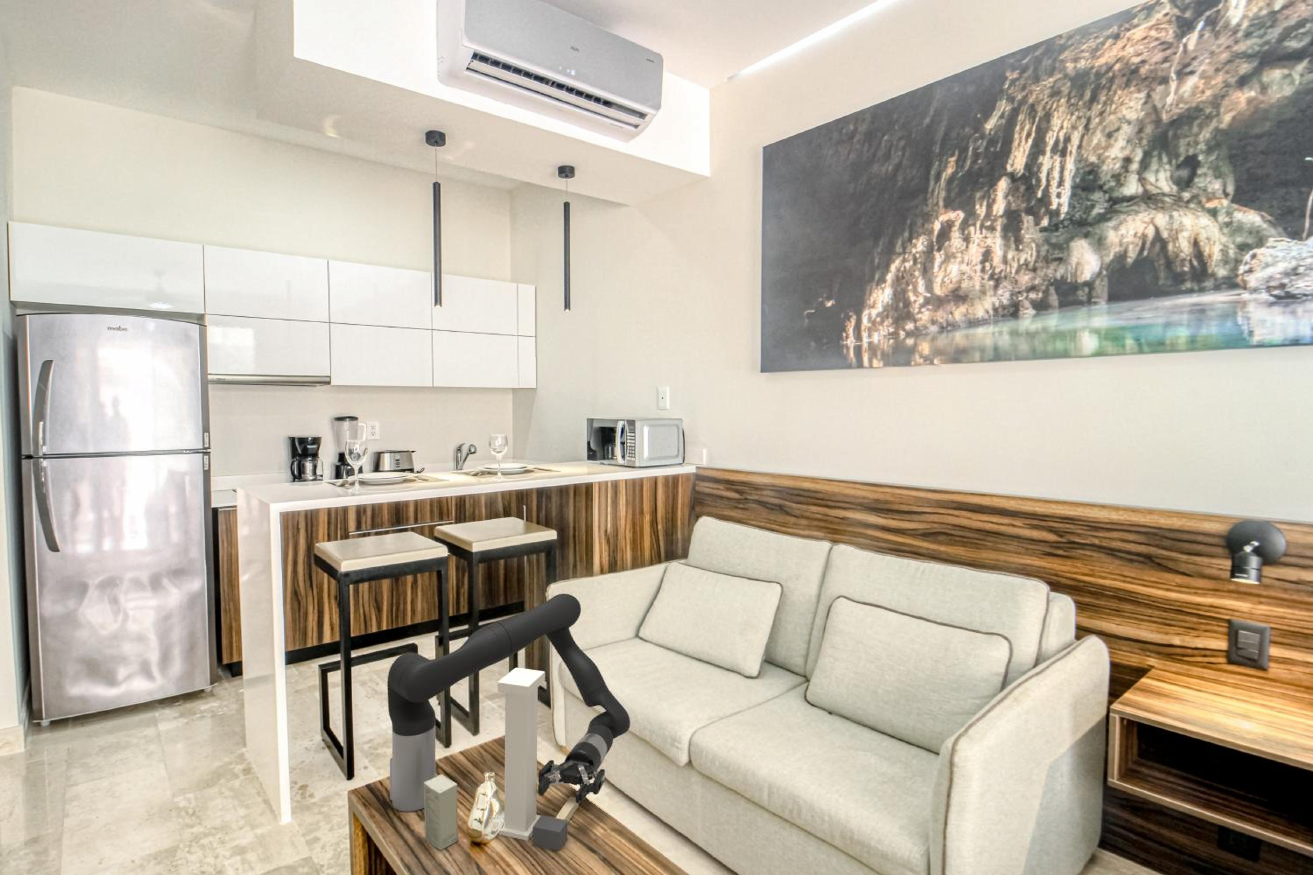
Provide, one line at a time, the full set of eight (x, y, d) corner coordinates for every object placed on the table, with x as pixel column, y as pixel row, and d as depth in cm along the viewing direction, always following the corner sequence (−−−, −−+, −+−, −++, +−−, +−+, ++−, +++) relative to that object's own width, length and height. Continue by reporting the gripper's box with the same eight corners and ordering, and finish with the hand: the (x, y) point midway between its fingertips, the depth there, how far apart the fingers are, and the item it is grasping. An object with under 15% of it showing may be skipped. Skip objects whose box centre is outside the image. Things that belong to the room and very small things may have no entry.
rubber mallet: (559, 850, 135) (559, 831, 135) (532, 845, 137) (532, 826, 136) (586, 807, 150) (586, 790, 149) (561, 803, 151) (562, 786, 151)
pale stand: (526, 841, 138) (528, 686, 136) (496, 835, 139) (497, 682, 138) (543, 818, 145) (545, 671, 144) (514, 813, 147) (515, 667, 145)
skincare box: (458, 841, 137) (459, 784, 137) (439, 851, 134) (439, 793, 133) (442, 828, 142) (442, 772, 141) (423, 838, 138) (423, 781, 138)
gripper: (559, 736, 159) (528, 772, 143) (615, 745, 155) (590, 783, 139) (558, 766, 159) (528, 806, 144) (614, 776, 155) (589, 818, 140)
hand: (558, 795), depth 141 cm, fingers open, 8 cm apart
